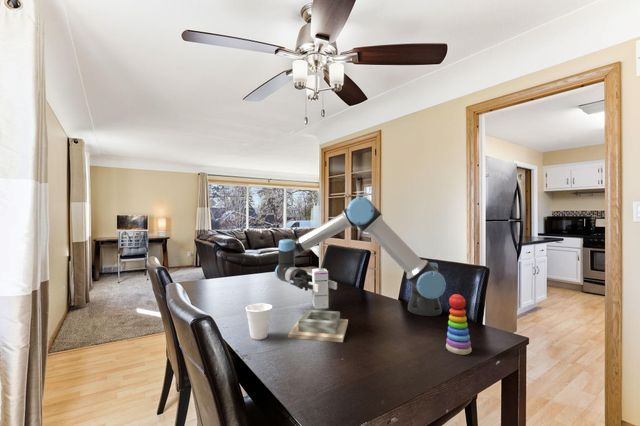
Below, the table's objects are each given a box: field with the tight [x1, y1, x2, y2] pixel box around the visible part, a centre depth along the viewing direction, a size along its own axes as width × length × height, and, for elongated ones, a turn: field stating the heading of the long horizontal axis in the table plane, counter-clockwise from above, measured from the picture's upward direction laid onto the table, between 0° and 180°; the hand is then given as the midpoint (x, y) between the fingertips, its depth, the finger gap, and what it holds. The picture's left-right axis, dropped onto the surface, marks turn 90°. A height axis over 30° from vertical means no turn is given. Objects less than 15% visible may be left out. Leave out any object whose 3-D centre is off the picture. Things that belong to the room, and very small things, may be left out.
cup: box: [245, 303, 273, 341], centre depth 116 cm, size 10×10×11 cm
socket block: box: [287, 309, 349, 343], centre depth 123 cm, size 20×20×6 cm
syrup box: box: [311, 268, 329, 310], centre depth 123 cm, size 6×6×14 cm
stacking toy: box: [445, 293, 473, 355], centre depth 105 cm, size 8×8×19 cm
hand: (327, 287), depth 119 cm, fingers closed on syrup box, 7 cm apart
